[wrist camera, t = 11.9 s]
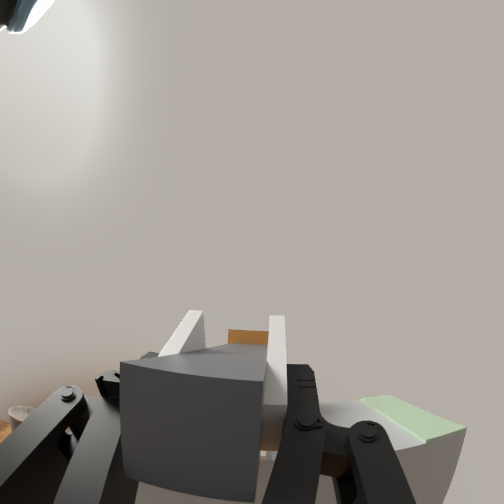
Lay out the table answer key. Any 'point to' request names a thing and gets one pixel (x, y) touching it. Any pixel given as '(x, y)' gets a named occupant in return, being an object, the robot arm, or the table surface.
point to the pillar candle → (19, 415)
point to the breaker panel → (400, 434)
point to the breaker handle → (196, 418)
